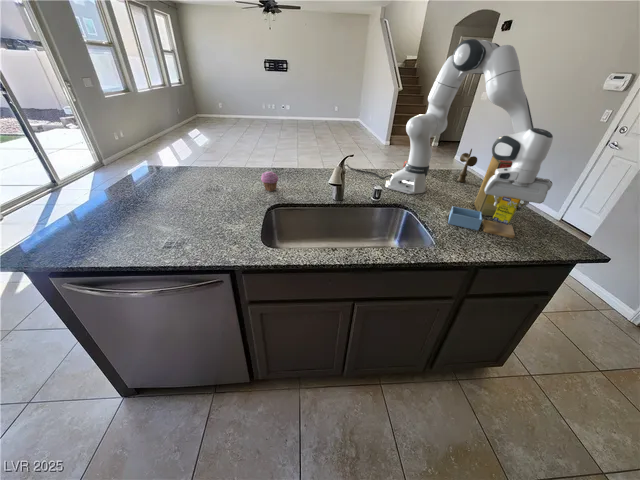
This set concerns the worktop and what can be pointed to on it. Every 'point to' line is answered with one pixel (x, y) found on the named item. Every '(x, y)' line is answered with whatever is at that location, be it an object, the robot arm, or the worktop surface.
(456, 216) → the basket
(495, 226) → the oak board
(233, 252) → the worktop surface
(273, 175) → the cupcake
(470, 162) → the kendama
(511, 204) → the supplement box
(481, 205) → the food packaging
